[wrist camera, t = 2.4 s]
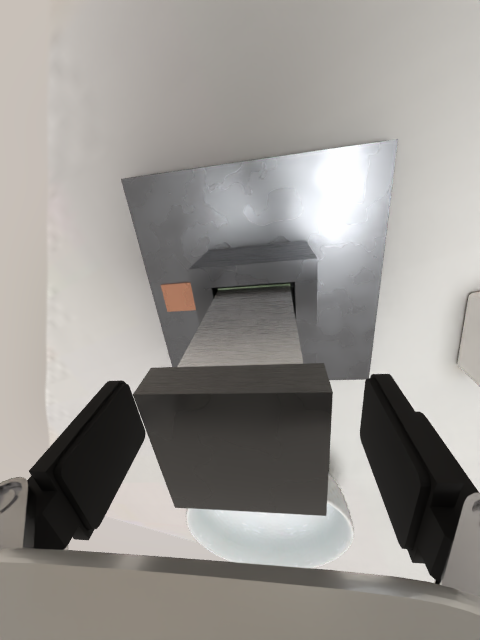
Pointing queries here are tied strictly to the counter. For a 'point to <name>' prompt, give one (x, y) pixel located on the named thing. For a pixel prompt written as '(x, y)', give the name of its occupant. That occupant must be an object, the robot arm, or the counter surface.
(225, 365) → the column
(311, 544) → the cereal bowl
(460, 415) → the counter surface
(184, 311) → the stand base
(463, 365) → the medicine bottle
